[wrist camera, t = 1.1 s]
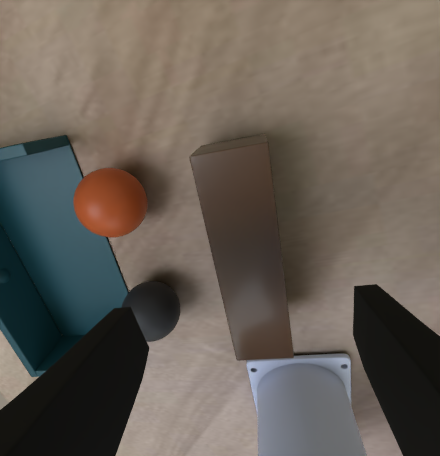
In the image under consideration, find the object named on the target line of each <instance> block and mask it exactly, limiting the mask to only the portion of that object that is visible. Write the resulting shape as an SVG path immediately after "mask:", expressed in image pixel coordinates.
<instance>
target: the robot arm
mask: <svg viewBox="0 0 440 456" xmlns="http://www.w3.org/2000/svg"><path fill="white" fill-rule="evenodd" d="M353 336H354V339H355V342H356V346H357V349H358V352H359V355H360V358H361V361H362V364H363V367H364V370H365V372H366V374H367V376H368V379H369V381H370V383H371V385H372V388H373V390H374V392H375V394H376V397H377V399H378V401H379V403H380V405H381V408H382V410H383V412H384V414H385V417H386V419H387V421H388V423H389V425H390V428H391V430H392V432H393V434H394V436H395V439H396V441H397V443H398V445H399V447H400V450H401V452H402V454H403V456H440V336H439V335H437V334H436V333H435V332H434V331H432V330H431V329H430V328H428V327H427V326H426V325H425V324H424V323H422V322H421V321H420V320H419V319H417V318H416V317H415V316H414V315H413V314H411V313H410V312H409V311H408V310H407V309H405V308H404V307H403V306H402V305H401V304H399V303H398V302H397V301H396V300H395V299H394V298H392V297H391V296H390V295H389V294H388V293H386V292H385V291H384V290H383V289H382V288H380V287H379V286H378V285H377V284H375V285H364V286H354V321H353ZM148 352H149V346H148V344H147V342H146V340H145V337H144V335H143V333H142V331H141V329H140V326H139V324H138V322H137V320H136V317H135V315H134V313H133V311H132V309H131V307H122V308H114V309H113V310H112V311H110V312H109V313H108V314H107V315H106V316H105V317H104V318H103V319H101V320H100V321H99V322H98V323H97V324H96V325H95V326H94V327H93V328H92V329H91V330H90V331H89V332H88V333H87V334H85V335H84V336H83V337H82V338H81V339H80V340H79V341H78V342H77V343H76V344H75V345H74V346H73V347H72V348H71V349H69V350H68V351H67V352H66V353H65V354H64V355H63V356H62V357H61V358H60V359H59V360H58V361H57V362H56V363H54V364H53V365H52V366H51V367H50V368H49V369H48V370H46V371H45V372H44V373H43V374H42V375H41V376H40V377H39V378H37V379H36V380H35V381H34V382H33V383H32V384H31V385H29V386H28V387H27V388H26V389H25V390H24V391H23V392H22V393H20V394H19V395H18V396H17V397H16V398H14V399H13V400H12V401H11V402H10V403H8V404H7V405H6V406H5V407H3V408H2V409H1V410H0V456H115V455H116V453H117V450H118V447H119V444H120V441H121V438H122V436H123V433H124V430H125V427H126V424H127V422H128V419H129V416H130V413H131V410H132V408H133V405H134V402H135V399H136V396H137V393H138V390H139V387H140V384H141V381H142V378H143V374H144V370H145V366H146V361H147V356H148ZM342 364H343V365H342ZM247 369H248V374H249V379H250V383H251V388H252V393H253V397H254V402H255V406H256V411H257V416H258V456H367V454H366V451H365V448H364V445H363V442H362V438H361V435H360V432H359V429H358V426H357V423H356V420H355V416H354V413H353V410H352V407H351V360H350V357H349V356H348V355H347V354H343V353H341V354H320V355H299V356H294V358H282V359H260V360H247Z"/></svg>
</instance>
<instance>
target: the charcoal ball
mask: <svg viewBox="0 0 440 456" xmlns="http://www.w3.org/2000/svg"><path fill="white" fill-rule="evenodd" d="M122 307H131V309H132V311H133V313H134V315H135V317H136V320H137V322H138V324H139V326H140V329H141V331H142V333H143V335H144V337H145V340H146V341H148V342H150V341H156V340H159V339H162V338H164V337H165V336H167V335H168V334H169V333H170V332H171V331H172V330H173V329H174V328H175V326H176V324H177V322H178V320H179V316H180V303H179V299H178V297H177V295H176V293H175V292H174V291H173V290H172V289H171V288H170V287H169V286H167V285H166V284H163V283H161V282H156V281H150V282H144V283H141V284H139V285H137V286H136V287H134V288H133V289H132V290H131V291H130V292H129V293H128V294H127V296H126V297H125V299H124V301H123V304H122ZM122 307H121V308H122Z"/></svg>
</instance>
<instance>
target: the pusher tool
mask: <svg viewBox="0 0 440 456" xmlns="http://www.w3.org/2000/svg"><path fill="white" fill-rule="evenodd" d="M82 179H83V176H82V173H81V171H80V168H79V165H78V163H77V160H76V158H75V155H74V153H73V150H72V148H71V145H70V143H69V140H68V138H67V135H63V136H58V137H53V138H47V139H42V140H37V141H32V142H26V143H21V144H17V145H12V146H7V147H3V148H0V222H1V224H2V226H3V227H2V226H1V224H0V330H1V331H2V333H3V334H4V336H5V337H6V339H7V340H8V342H9V344H10V345H11V347H12V348H13V350H14V351H15V353H16V354H17V356H18V357H19V359H20V360H21V362H22V363H23V365H24V366H25V368H26V369H27V371H28V372H29V374H30V375H31V377H37V376H39V377H40V376H41V375H42V374H43V373H44V372H45V371H46V370H48V369H49V368H50V367H51V366H52V365H53V364H54V363H56V362H57V361H58V360H59V359H60V358H61V357H62V356H63V355H64V354H65V353H66V352H67V351H68V350H69V349H71V348H72V347H73V346H74V345H75V344H76V343H77V342H78V341H79V340H80V339H81V338H82V337H83V336H84V335H85V334H87V333H88V332H89V331H90V330H91V329H92V328H93V327H94V326H95V325H96V324H97V323H98V322H99V321H100V320H101V319H103V318H104V317H105V316H106V315H107V314H108V313H109V312H110V311H112V310H113V309H114V308H121V307H122V304H123V301H124V299H125V297H126V296H127V294H128V290H127V287H126V285H125V282H124V280H123V277H122V275H121V272H120V270H119V267H118V265H117V262H116V259H115V257H114V254H113V252H112V249H111V247H110V244H109V242H108V239H107V237H104V236H100V235H97V234H95V233H93V232H91V231H89V230H88V229H87V228H86V227H84V226H83V225H82V223H81V222H80V221H79V219H78V218H77V216H76V213H75V210H74V203H73V199H74V193H75V190H76V188H77V186H78V184H79V183H80V181H81V180H82ZM3 228H4V229H3ZM4 230H5V231H4ZM5 232H6V233H7V235H8V236H7V235H6V233H5ZM8 237H9V238H8ZM9 239H10V240H9ZM10 241H11V242H12V244H13V246H14V247H13V246H12V244H11V242H10ZM14 248H15V249H14ZM15 250H16V251H15ZM16 252H17V253H18V255H19V256H18V255H17V253H16ZM19 257H20V258H19ZM20 259H21V260H20ZM21 261H22V262H21ZM22 263H23V264H24V266H25V267H24V266H23V264H22ZM25 268H26V269H25ZM26 270H27V271H26ZM27 272H28V273H29V275H30V276H29V275H28V273H27ZM30 277H31V278H30ZM31 279H32V280H31ZM32 281H33V282H32ZM33 283H34V284H35V286H36V287H35V286H34V284H33ZM36 288H37V289H36ZM37 290H38V291H37ZM38 292H39V293H38ZM39 294H40V295H41V296H40V295H39ZM41 297H42V298H41ZM42 299H43V300H42ZM43 301H44V302H43ZM44 303H45V304H46V306H47V307H46V306H45V304H44ZM47 308H48V309H47ZM48 310H49V311H48ZM49 312H50V313H49ZM50 314H51V315H52V316H51V315H50ZM52 317H53V318H52ZM53 319H54V320H53ZM54 321H55V322H54ZM55 323H56V324H57V326H58V327H57V326H56V324H55ZM58 328H59V329H58ZM59 330H60V331H59ZM60 332H61V333H60ZM61 334H62V335H63V336H62V335H61Z"/></svg>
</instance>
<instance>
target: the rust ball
mask: <svg viewBox="0 0 440 456" xmlns="http://www.w3.org/2000/svg"><path fill="white" fill-rule="evenodd" d="M73 203H74V210H75V213H76V216H77V218H78V219H79V221H80V222H81V223H82V225H83V226H84V227H86V228H87V229H88V230H89V231H91V232H93V233H95V234H97V235H100V236H104V237H119V236H123V235H126V234H128V233H130V232H132V231H133V230H135V229H136V228H137V227H138V226H139V225H140V224H141V222H142V221H143V219H144V217H145V215H146V211H147V196H146V193H145V190H144V188H143V187H142V185H141V184H140V182H139V181H138V180H137V179H136V178H135V177H134V176H132V175H131V174H129V173H127V172H125V171H123V170H120V169H115V168H104V169H99V170H96V171H93V172H91V173H90V174H88V175H87V176H85V177H84V178H83V179H82V180H81V181H80V183H79V184H78V186H77V188H76V190H75V193H74V199H73Z"/></svg>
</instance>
